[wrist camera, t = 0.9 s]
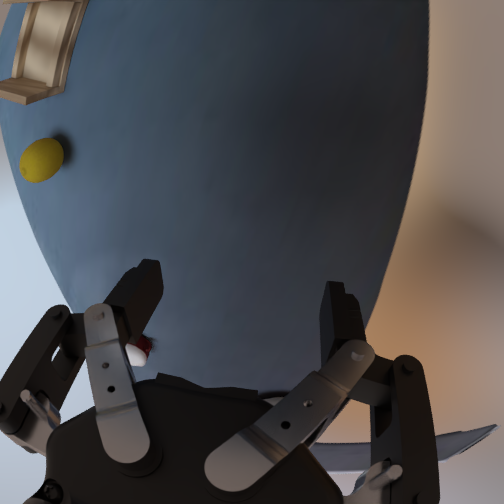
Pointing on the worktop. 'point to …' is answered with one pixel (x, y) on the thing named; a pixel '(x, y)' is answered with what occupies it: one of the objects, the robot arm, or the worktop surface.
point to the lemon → (41, 160)
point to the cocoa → (138, 351)
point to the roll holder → (43, 49)
